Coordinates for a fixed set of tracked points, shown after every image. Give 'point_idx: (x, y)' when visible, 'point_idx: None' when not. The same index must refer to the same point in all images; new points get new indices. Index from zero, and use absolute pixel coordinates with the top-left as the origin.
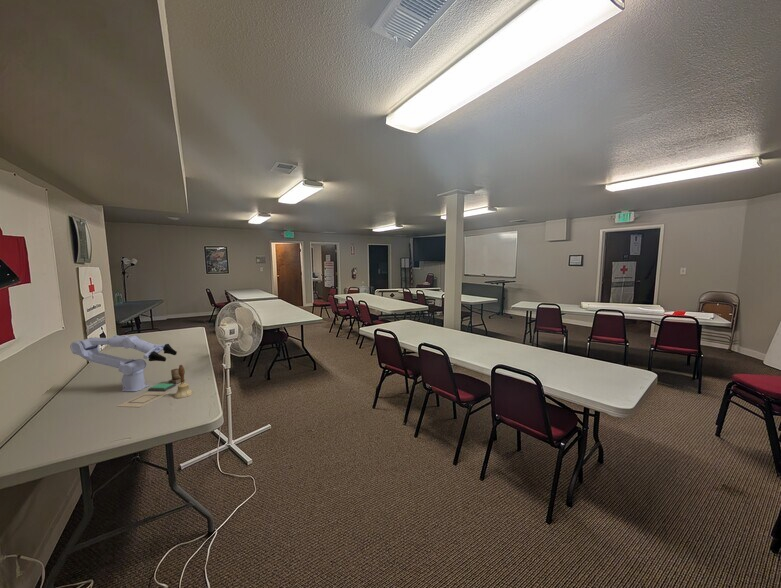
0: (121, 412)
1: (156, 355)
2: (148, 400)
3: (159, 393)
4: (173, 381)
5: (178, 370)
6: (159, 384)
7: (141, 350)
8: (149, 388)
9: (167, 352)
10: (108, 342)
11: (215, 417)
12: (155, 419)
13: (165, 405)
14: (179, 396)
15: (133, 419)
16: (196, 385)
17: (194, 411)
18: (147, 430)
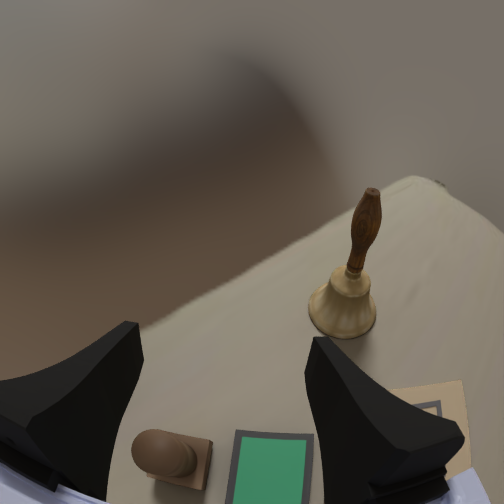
0: (495, 402)
1: (394, 397)
2: (419, 403)
3: None
4: (207, 457)
5: (380, 221)
6: None
7: None
8: None
9: (107, 445)
10: None
11: (410, 176)
12: (473, 262)
13: (425, 302)
14: (372, 298)
15: (498, 314)
16: (240, 328)
17: (414, 212)
18: (493, 243)
